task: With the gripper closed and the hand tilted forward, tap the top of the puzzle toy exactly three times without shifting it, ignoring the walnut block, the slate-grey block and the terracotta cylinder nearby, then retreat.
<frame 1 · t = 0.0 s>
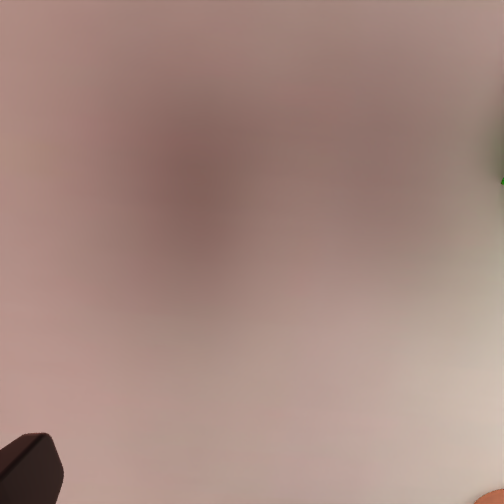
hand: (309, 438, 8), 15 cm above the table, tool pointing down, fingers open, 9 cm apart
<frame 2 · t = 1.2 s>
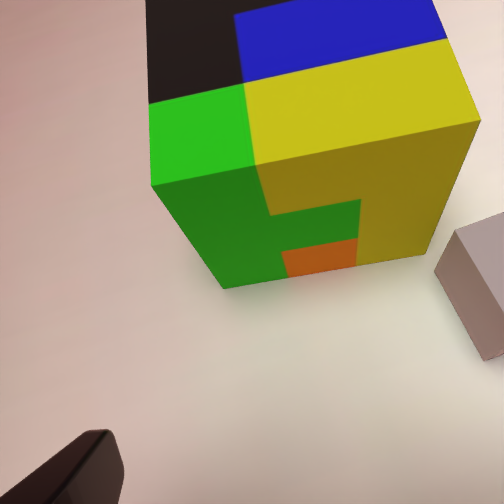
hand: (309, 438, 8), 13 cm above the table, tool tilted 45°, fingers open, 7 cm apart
puzzle toy: (305, 189, 25), on the table
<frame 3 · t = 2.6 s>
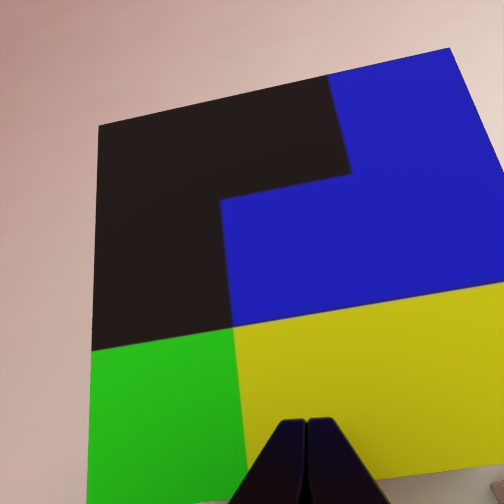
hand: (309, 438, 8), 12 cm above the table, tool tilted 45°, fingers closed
puzzle toy: (316, 347, 20), on the table
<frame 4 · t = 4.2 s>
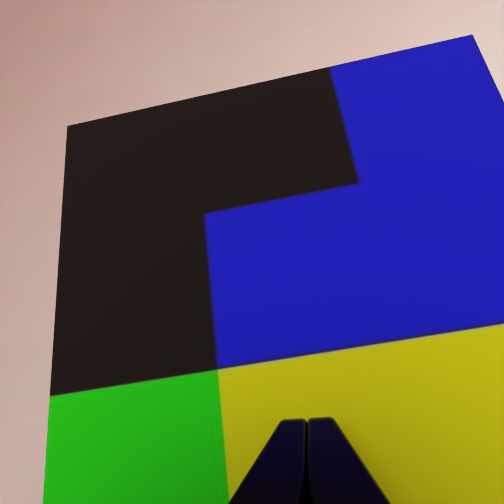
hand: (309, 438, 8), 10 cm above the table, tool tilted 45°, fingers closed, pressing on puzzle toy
puzzle toy: (317, 366, 18), on the table, touching gripper
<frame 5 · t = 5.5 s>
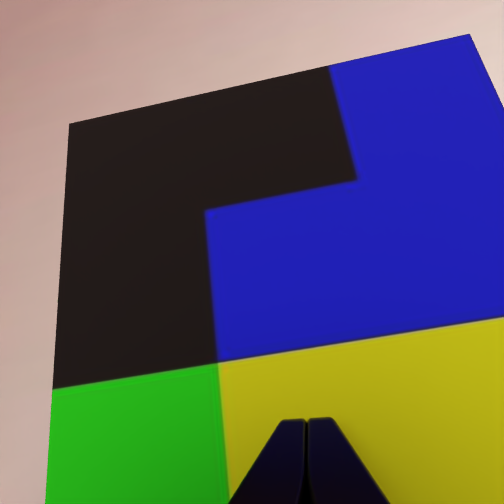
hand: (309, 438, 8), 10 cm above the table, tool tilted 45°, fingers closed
puzzle toy: (316, 363, 18), on the table
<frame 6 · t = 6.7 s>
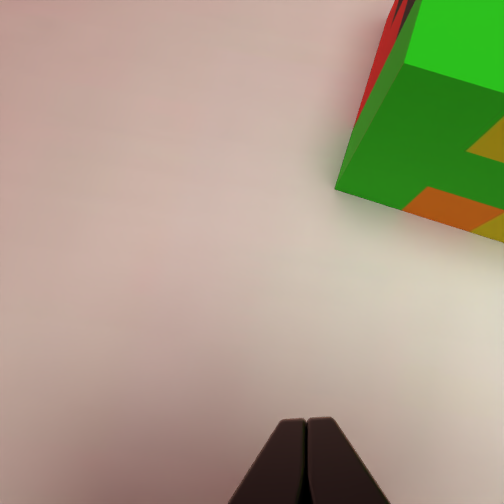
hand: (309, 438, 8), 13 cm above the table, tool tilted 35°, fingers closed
puzzle toy: (455, 132, 23), on the table
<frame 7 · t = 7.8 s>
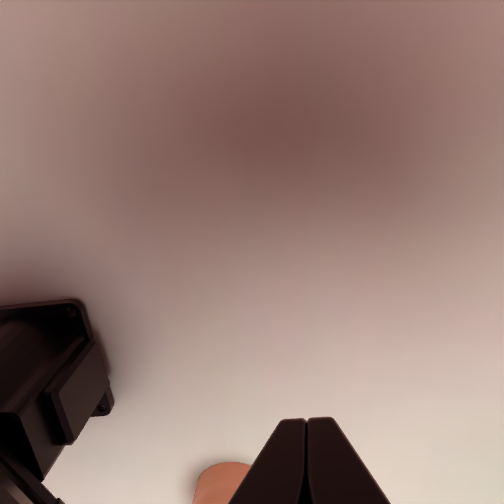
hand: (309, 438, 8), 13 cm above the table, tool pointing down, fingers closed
terracotta cylinder: (235, 492, 26), on the table
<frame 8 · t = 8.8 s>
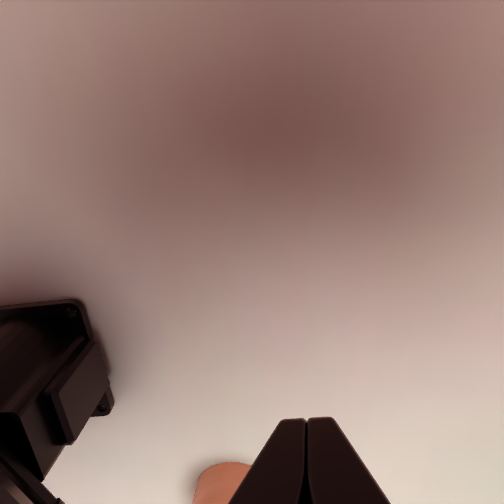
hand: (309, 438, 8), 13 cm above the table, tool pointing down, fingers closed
terracotta cylinder: (235, 492, 26), on the table
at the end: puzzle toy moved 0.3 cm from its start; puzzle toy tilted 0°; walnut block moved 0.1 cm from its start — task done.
